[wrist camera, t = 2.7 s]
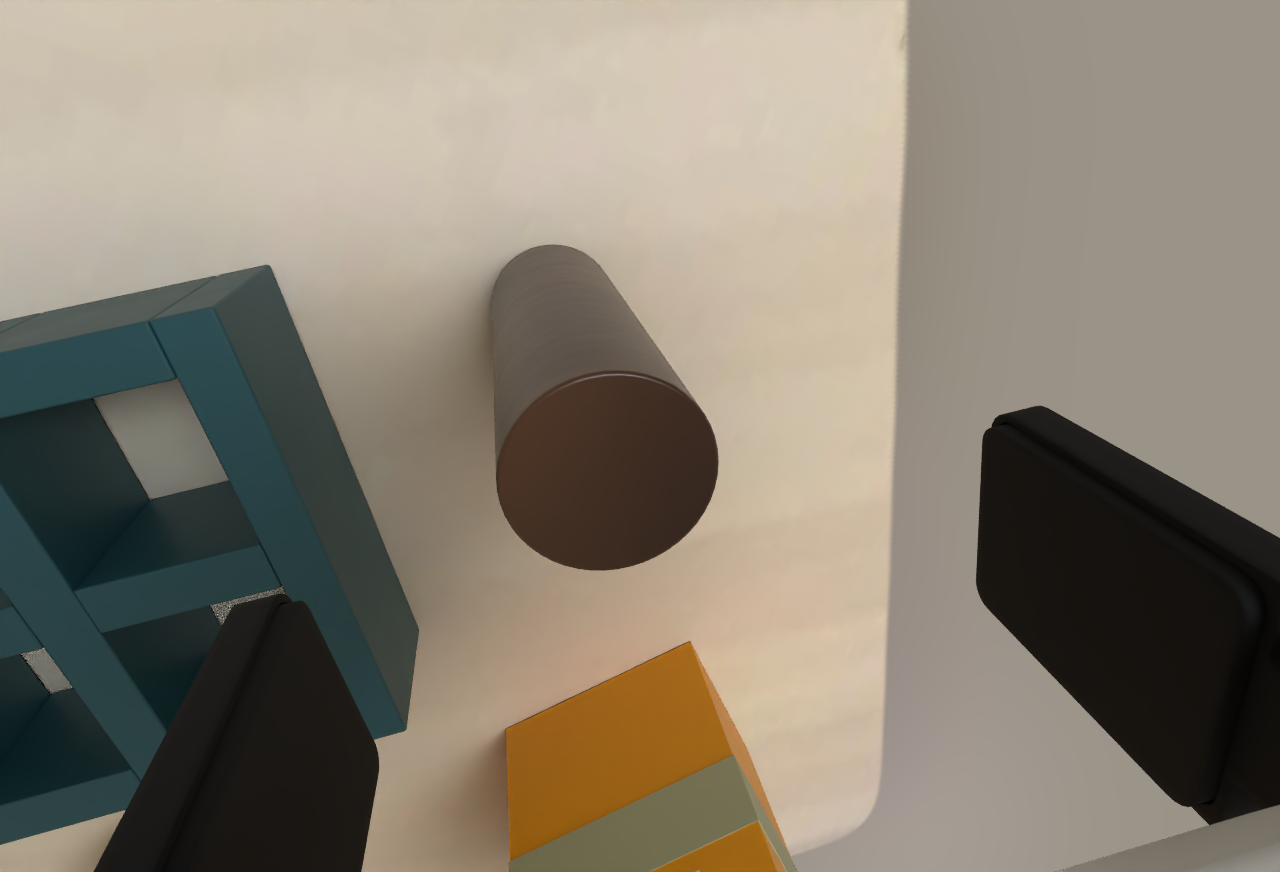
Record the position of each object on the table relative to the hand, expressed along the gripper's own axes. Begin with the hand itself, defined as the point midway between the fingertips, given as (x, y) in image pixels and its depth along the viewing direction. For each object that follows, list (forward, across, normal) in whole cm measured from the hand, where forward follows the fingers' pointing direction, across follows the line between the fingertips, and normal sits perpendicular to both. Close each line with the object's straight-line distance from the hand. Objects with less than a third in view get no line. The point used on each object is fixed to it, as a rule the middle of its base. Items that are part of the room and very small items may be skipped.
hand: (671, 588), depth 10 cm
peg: (+15, +1, 0) cm, 15 cm away
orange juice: (+16, +2, +20) cm, 25 cm away
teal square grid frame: (+15, +16, +4) cm, 22 cm away
